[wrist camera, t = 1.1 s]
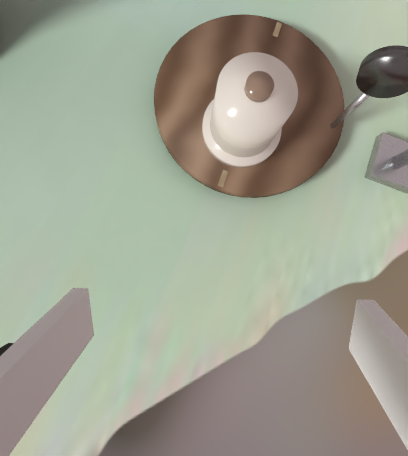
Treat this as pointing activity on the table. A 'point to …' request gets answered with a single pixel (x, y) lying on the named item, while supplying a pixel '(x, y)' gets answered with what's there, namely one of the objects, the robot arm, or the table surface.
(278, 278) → the table surface
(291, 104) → the canister
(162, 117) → the turntable
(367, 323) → the robot arm
